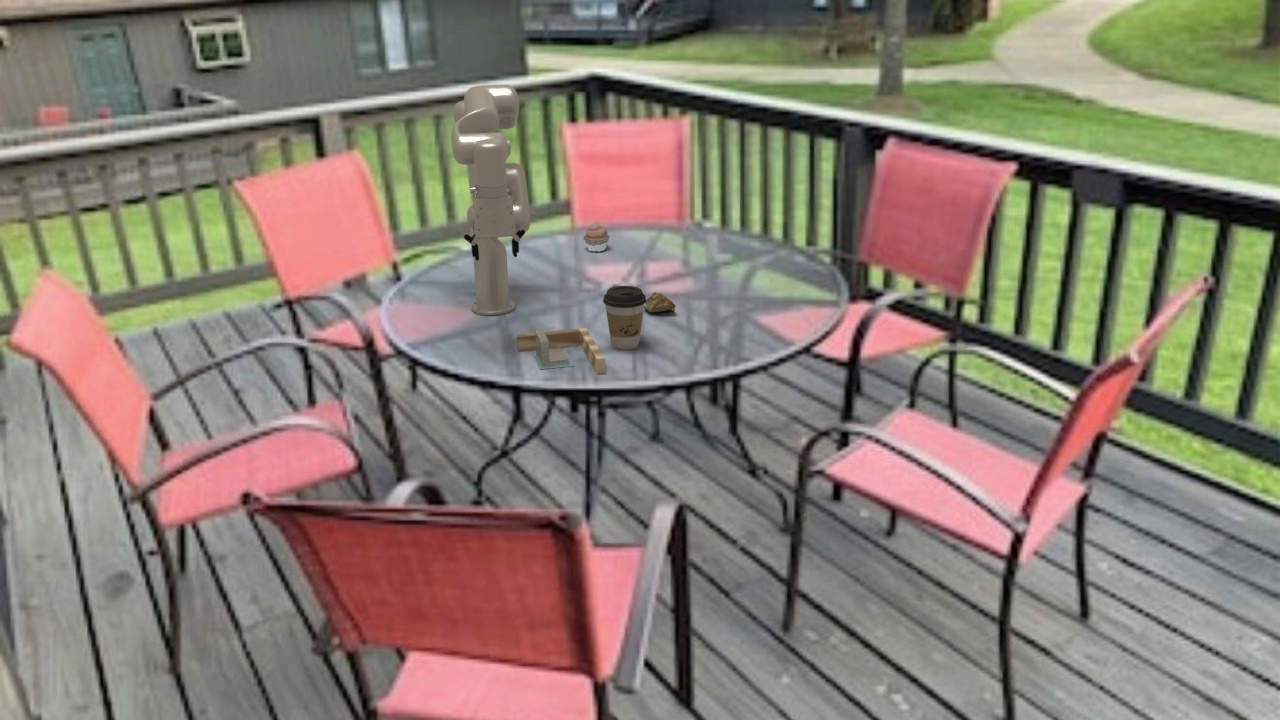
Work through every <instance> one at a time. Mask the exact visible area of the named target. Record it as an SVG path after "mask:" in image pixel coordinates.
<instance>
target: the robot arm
mask: <svg viewBox="0 0 1280 720" xmlns="http://www.w3.org/2000/svg"><path fill="white" fill-rule="evenodd" d="M519 112H520V100H519V95H518V93H517V91H516V89H515V88H514V87H513V86H512V85H509V84H488V85H487V84H485V85H484V84H483V85H474V86H471V87H470V88H469V89H468V90H466V92H465V93H464V97H463V100H461V101H458V102H457V103H455V104H454V107H453V119H454V125H453V126H452V129H451V133H450V134H451V138H450V140H451V149H452V155H453V158H454V160H455V161H456V162H457V164H461V165H463V166H464V165H465V166H466V165H467V174H468V183H469V191H470V194H472V195H473V196H474V197H473V203H472V204H471V205H470V206H469V207H468V209H467V211H466V219H467V222H466V223H464V224H463V225H461V226H459V228H458V230H459V232H460V234H461V236H462V237H463V239H464V240H465V241H466V242H468V243H469V244H470V245H471V247H470V248H471V255H472V258H473V269H474V270H473V271H474V283H475V295H476V296H475V298H476V301H474V302H473V303H472V304H471V311H472V312H473V313H475V314H477V315H480V316H500V315H505V314H508V312H509V313H511V312H513V311H514V310H515V309H516V303H515V301H514V300H511V299H510V288H509V272H508V271H509V270H508V269H509V268H508V255H507V254H508V253H507V248H506V246H505V245H504V243H503V242H502V240H500V239H499V238H509V237H511V238H512V239H511V253H512V255H513V257H515V258H517V257H518V253H520V243H519V242H520V241H521V239H522V238H523V236H525V234H526V233H527V232H528V231H529V229H530V226H531V214H530V206H529V205H530V204H529V195H528V193H529V192H528V185H527V178H526V177H527V176H526V173H525V170H524V167H523V166H522V165H521V164H519V163H516V162H506V161H507V160H508V158H509V157H510V156H511V153H512V151H511V149H512V148H511V140H510V139H509V138H508V136H507V135H506V134H504V133H502V132H497V130H509V129H513V128H515V127H516V125H517V122H518V117H519ZM468 230H469V233H470V235H469V234H468V232H467V231H468ZM514 308H515V309H514Z"/></svg>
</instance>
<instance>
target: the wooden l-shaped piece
mask: <svg viewBox="0 0 1280 720" xmlns="http://www.w3.org/2000/svg"><path fill="white" fill-rule="evenodd" d="M544 333H545V335H546V337H547V339H548V341H549V349H556V348H565V347H566V348H567V347H576V346H580V347H581V348H582V350H583V352H584V353H585V356H586V357H587V359H588V361H589V362H590V364H591V366H592V368H593V369H594V371H595V373H596V374H597V375H603V374H606V358H605V356H604V355H603V353H602V351H601V350H600V348H599V347H598V345H597V344H596V341H595V340H594V338H593V337H592V335H591V334H590V332H589V331H588V329H587V328H586V327H580V328H578V327H577V328H570V329H569V328H568V329H559V330H551V331H550V330H549V331H544ZM516 347H517V351H518V352H526V351H528V352H529V351H536V341H535V332H532V333H521V334H516Z"/></svg>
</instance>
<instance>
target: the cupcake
mask: <svg viewBox="0 0 1280 720" xmlns="http://www.w3.org/2000/svg"><path fill="white" fill-rule="evenodd" d="M582 239H583V240H584V243H585V245H586V244H588V245H592V246H595V245H601V244H604V243H606V242H607V243H608V242H609V240H610V235H609V234H608V230H607V229H606V227H604V226H603V225H600V223H598V221H595V222H594V223H592V224H590V226H589V228H588V229H587V230H586V232H585V235H583V238H582Z"/></svg>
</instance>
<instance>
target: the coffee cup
mask: <svg viewBox="0 0 1280 720" xmlns="http://www.w3.org/2000/svg"><path fill="white" fill-rule="evenodd" d="M646 300H647V296H646V294H644V293H643V290H642V289H641V288H640V287H638V286H637V287H636V286H634V285H618V286H616V285H615V286H613V287H610V288H609V289H607V291H606V294H604V295H603V300H602V302H603V304H604V305H605V309H606V310H605V312H606V318H607V323H608V325H607V326H608V331H609V337H610V338H609V339H610V343H611V346H612V348H614V349H616V350H621V351H622V350H623V351H628V350H634V349H636V348H637V347H639V343H640V339H641V332H642V324H643V323H642V322H643V314H644V309H645V308H644V306H645V304H647V303H646Z"/></svg>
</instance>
